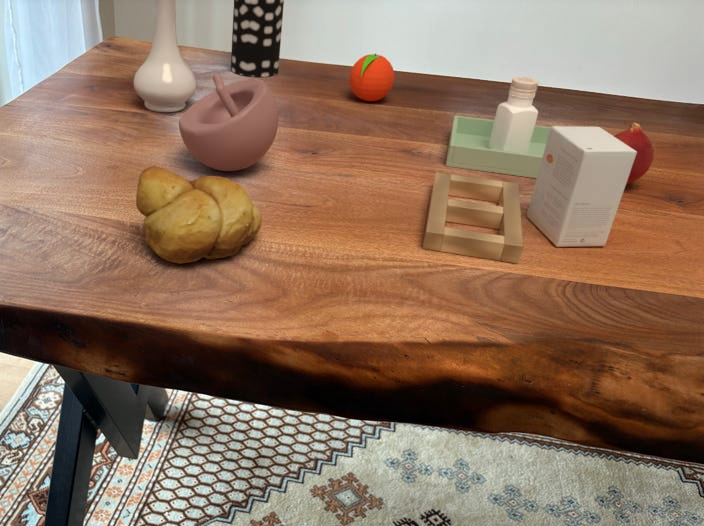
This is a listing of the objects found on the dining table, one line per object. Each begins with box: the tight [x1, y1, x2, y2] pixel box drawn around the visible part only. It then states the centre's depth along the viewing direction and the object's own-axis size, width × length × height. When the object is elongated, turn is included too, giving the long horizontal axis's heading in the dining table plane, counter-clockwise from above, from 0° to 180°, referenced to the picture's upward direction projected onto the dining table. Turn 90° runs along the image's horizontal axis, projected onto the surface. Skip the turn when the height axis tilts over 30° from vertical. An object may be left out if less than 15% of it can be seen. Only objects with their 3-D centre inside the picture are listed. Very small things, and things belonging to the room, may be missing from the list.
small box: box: [526, 125, 637, 248], centre depth 82 cm, size 8×6×10 cm
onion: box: [613, 122, 654, 185], centre depth 94 cm, size 6×6×8 cm
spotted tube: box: [230, 0, 285, 78], centre depth 128 cm, size 8×8×20 cm
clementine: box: [349, 53, 395, 102], centre depth 120 cm, size 8×7×7 cm
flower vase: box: [132, 0, 198, 113], centre depth 109 cm, size 13×18×25 cm
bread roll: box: [135, 165, 263, 264], centre depth 75 cm, size 13×10×8 cm
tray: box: [445, 114, 552, 179], centre depth 103 cm, size 15×13×3 cm
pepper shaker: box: [489, 76, 539, 154], centre depth 100 cm, size 4×4×10 cm
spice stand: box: [422, 171, 524, 265], centre depth 85 cm, size 10×17×2 cm, turn 164°
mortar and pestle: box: [178, 72, 279, 172], centre depth 93 cm, size 12×12×11 cm
